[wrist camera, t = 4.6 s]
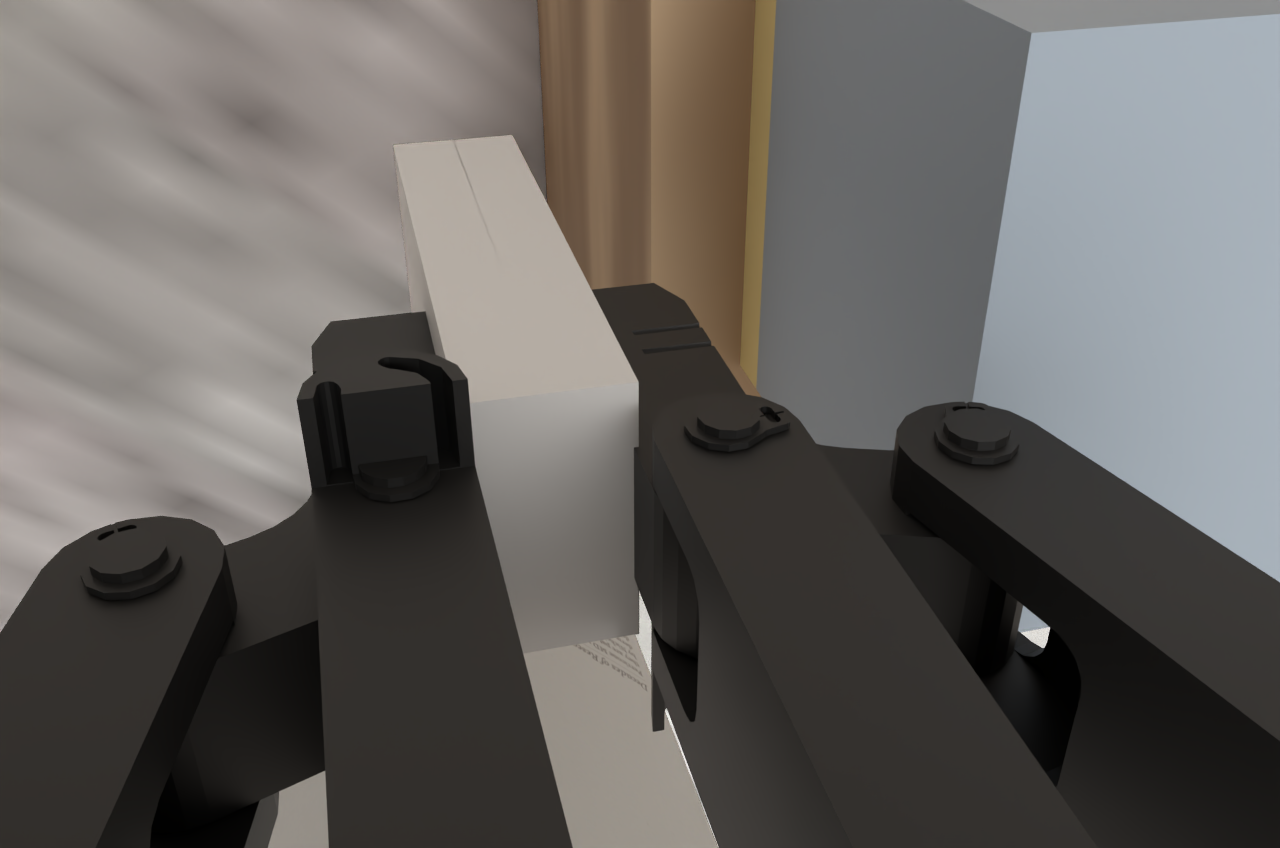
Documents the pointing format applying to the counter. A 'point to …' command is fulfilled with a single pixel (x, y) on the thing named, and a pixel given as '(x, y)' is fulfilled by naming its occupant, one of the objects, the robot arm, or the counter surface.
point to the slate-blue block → (1028, 233)
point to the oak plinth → (653, 148)
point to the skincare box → (577, 757)
